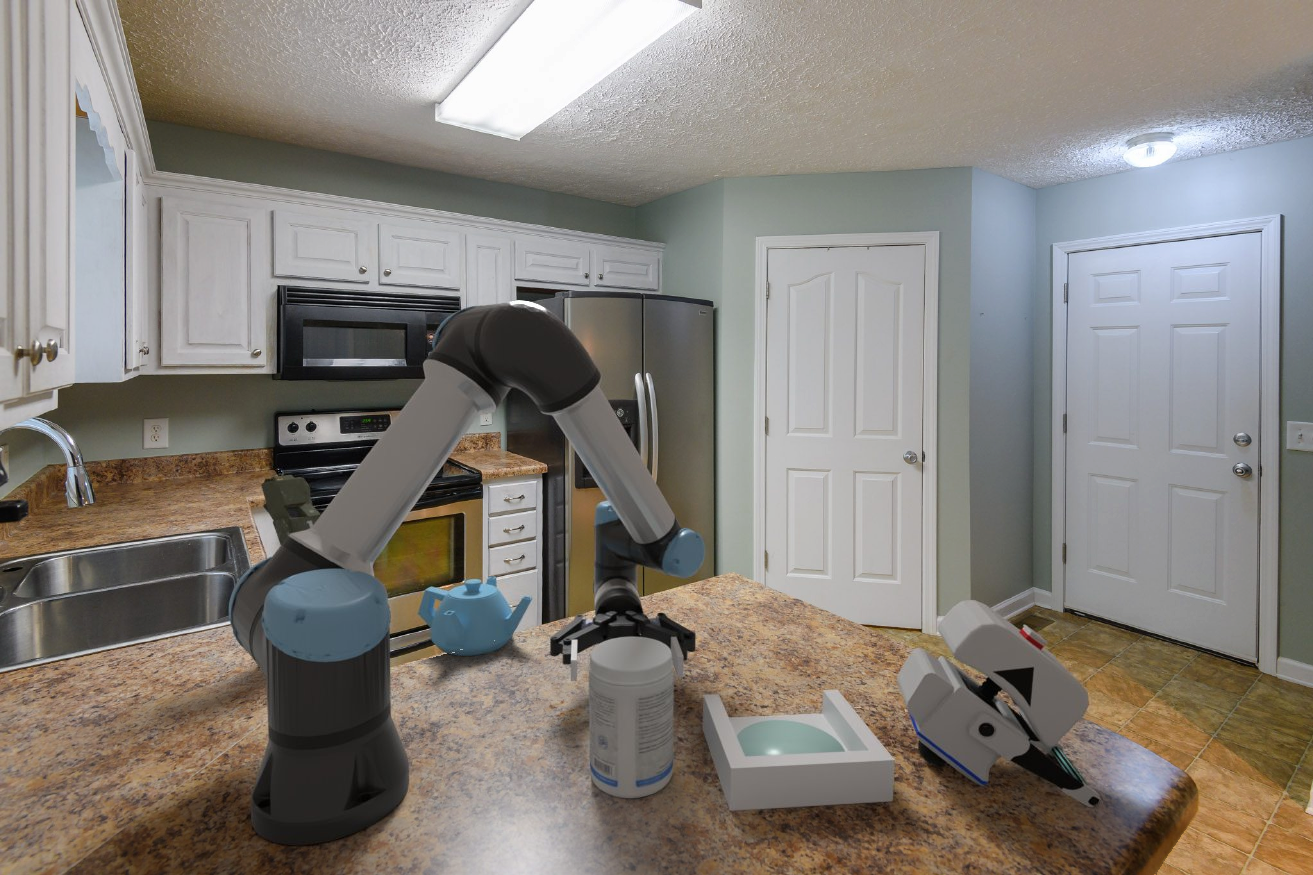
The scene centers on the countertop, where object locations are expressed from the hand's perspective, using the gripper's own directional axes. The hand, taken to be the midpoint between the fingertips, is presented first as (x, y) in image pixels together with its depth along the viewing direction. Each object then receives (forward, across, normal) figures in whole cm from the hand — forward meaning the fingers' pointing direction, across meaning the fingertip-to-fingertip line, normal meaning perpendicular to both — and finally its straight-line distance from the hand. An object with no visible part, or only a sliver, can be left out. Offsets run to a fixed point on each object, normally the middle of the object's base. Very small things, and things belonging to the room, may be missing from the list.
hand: (627, 668), depth 82 cm
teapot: (-31, +24, -9) cm, 40 cm away
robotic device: (+11, -42, -9) cm, 44 cm away
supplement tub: (+9, 0, -9) cm, 13 cm away
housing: (+8, -19, -8) cm, 22 cm away
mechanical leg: (-30, +52, -9) cm, 61 cm away
